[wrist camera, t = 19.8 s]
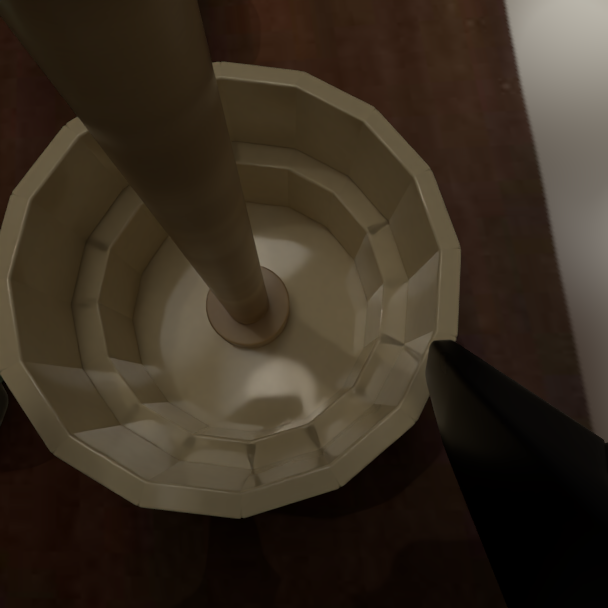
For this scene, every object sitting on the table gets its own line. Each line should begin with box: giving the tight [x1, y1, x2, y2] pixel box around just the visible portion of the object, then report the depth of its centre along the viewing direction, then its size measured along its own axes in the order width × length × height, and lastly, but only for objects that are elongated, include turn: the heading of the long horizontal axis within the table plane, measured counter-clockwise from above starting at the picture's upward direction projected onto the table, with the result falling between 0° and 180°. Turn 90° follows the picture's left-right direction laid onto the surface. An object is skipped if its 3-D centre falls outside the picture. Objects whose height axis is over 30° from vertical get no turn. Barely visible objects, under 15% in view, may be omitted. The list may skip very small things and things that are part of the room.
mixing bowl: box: [0, 61, 461, 519], centre depth 15 cm, size 12×12×7 cm
